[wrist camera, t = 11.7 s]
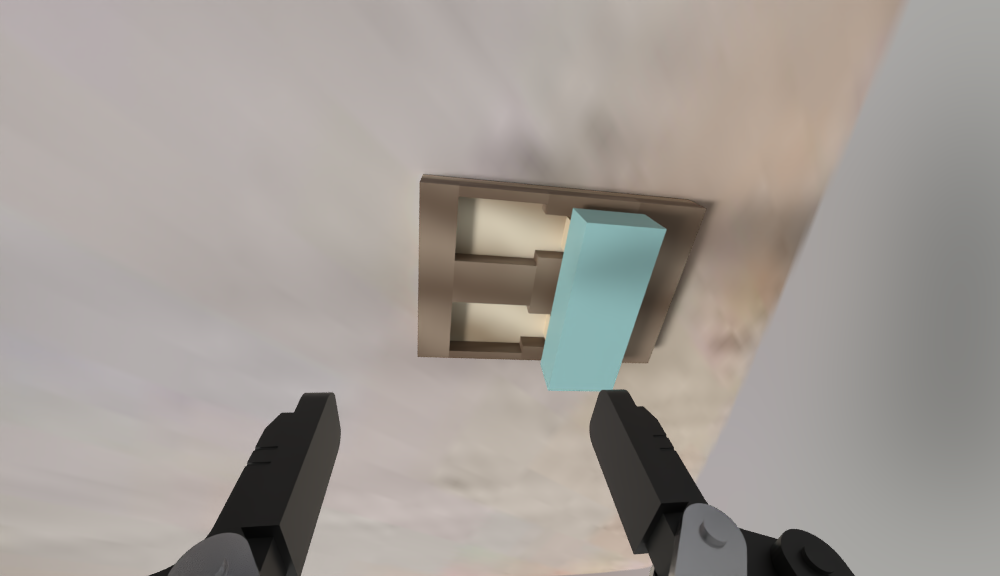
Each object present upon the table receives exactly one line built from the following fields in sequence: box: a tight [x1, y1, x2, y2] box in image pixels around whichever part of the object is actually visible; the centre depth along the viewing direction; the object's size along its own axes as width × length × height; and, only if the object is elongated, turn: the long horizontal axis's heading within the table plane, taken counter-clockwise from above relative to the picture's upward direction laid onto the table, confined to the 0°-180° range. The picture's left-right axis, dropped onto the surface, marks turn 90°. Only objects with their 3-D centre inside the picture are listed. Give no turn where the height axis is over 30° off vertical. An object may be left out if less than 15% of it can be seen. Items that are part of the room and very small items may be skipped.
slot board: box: [418, 174, 706, 363], centre depth 29 cm, size 14×20×2 cm
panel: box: [541, 208, 667, 391], centre depth 27 cm, size 13×5×6 cm, turn 173°
